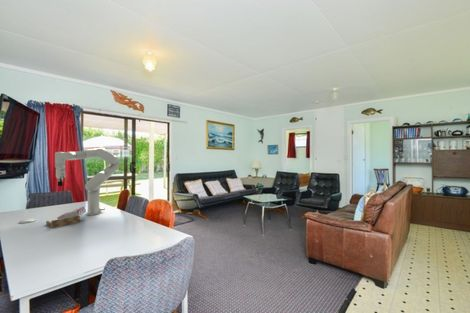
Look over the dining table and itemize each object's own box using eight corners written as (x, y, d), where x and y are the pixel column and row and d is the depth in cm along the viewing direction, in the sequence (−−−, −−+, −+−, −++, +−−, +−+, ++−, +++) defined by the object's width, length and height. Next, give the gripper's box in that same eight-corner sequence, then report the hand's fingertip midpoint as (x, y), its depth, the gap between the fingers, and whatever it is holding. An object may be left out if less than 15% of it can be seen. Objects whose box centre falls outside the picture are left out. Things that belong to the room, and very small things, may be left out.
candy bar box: (65, 212, 195) (84, 206, 197) (67, 218, 196) (86, 211, 197) (56, 217, 184) (76, 210, 185) (58, 222, 185) (79, 215, 186)
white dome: (33, 219, 195) (33, 217, 195) (37, 221, 189) (37, 219, 189) (18, 221, 187) (18, 220, 187) (20, 224, 181) (20, 222, 181)
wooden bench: (73, 219, 195) (73, 213, 195) (79, 222, 186) (79, 216, 186) (46, 224, 180) (46, 218, 180) (51, 227, 172) (51, 220, 172)
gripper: (68, 165, 205) (68, 186, 204) (62, 165, 214) (62, 185, 213) (57, 165, 199) (57, 187, 198) (52, 165, 208) (52, 185, 208)
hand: (60, 186), depth 206 cm, fingers closed
